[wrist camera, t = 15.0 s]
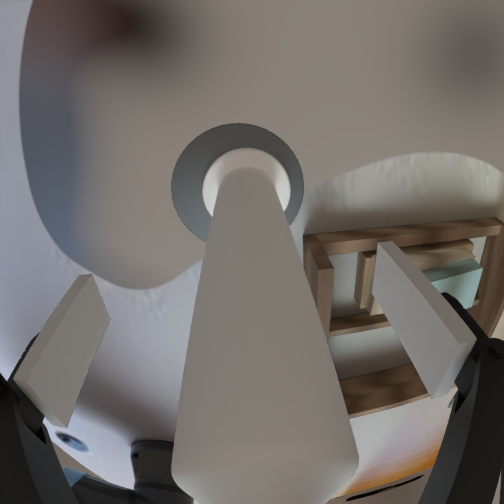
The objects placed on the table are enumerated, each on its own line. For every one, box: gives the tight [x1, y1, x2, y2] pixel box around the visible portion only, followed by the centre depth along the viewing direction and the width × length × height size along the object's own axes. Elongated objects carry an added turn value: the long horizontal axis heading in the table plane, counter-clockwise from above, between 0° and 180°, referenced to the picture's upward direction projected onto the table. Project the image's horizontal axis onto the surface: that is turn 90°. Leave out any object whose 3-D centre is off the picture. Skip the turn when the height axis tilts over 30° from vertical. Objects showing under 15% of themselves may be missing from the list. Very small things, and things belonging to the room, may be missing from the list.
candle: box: [171, 148, 359, 504], centre depth 14 cm, size 7×7×25 cm
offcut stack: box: [354, 239, 483, 315], centre depth 27 cm, size 14×6×6 cm, turn 95°
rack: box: [303, 218, 504, 419], centre depth 30 cm, size 25×24×6 cm
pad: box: [171, 123, 304, 243], centre depth 25 cm, size 11×11×1 cm
